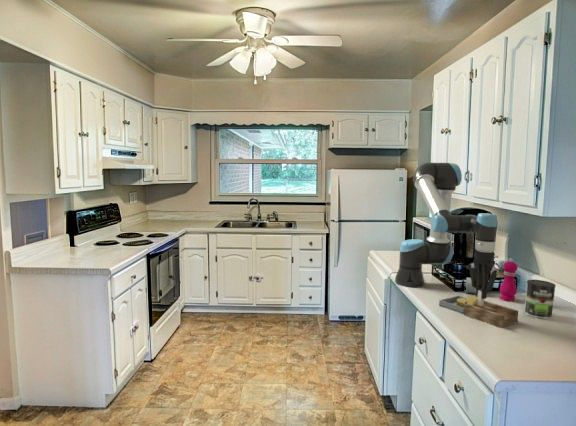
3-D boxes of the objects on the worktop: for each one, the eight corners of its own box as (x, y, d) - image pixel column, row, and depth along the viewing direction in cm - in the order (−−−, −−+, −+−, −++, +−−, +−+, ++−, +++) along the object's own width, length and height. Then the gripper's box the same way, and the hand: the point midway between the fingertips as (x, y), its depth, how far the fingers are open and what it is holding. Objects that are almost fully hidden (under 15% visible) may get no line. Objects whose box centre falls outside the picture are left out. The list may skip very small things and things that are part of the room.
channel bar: (464, 315, 171) (464, 304, 170) (480, 310, 177) (481, 299, 177) (501, 328, 158) (502, 316, 157) (517, 322, 164) (518, 310, 164)
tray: (439, 305, 182) (439, 300, 182) (457, 300, 190) (458, 295, 190) (463, 313, 172) (463, 308, 172) (482, 308, 180) (482, 302, 180)
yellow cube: (467, 305, 174) (467, 296, 173) (472, 304, 176) (473, 295, 176) (475, 308, 170) (476, 299, 170) (481, 306, 173) (481, 297, 172)
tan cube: (464, 310, 175) (456, 307, 178) (469, 308, 177) (461, 306, 180) (465, 301, 174) (456, 299, 178) (470, 300, 177) (462, 297, 180)
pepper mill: (512, 302, 188) (516, 260, 186) (496, 298, 194) (499, 258, 191) (518, 299, 193) (522, 258, 191) (502, 296, 198) (505, 256, 196)
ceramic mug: (483, 296, 197) (484, 281, 196) (465, 294, 200) (466, 279, 199) (481, 290, 207) (482, 276, 206) (464, 288, 210) (465, 274, 209)
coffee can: (555, 320, 167) (558, 287, 165) (526, 316, 170) (529, 284, 169) (548, 312, 176) (551, 281, 175) (522, 309, 180) (524, 278, 178)
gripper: (465, 248, 172) (461, 302, 174) (494, 254, 161) (490, 311, 163) (475, 247, 176) (471, 299, 178) (505, 252, 165) (500, 308, 168)
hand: (480, 305), depth 171 cm, fingers closed
